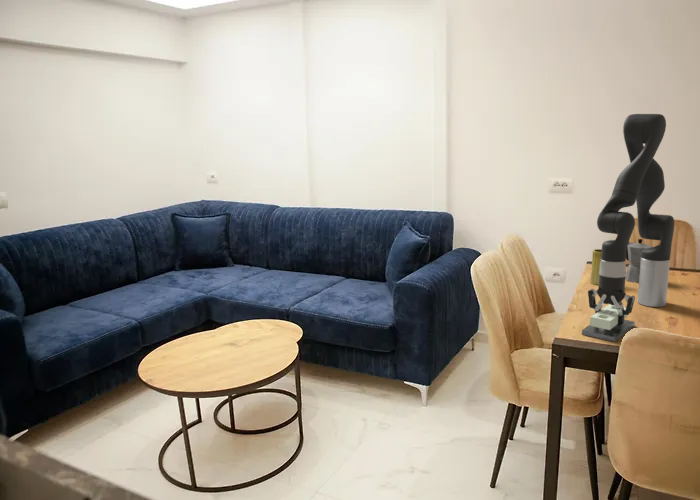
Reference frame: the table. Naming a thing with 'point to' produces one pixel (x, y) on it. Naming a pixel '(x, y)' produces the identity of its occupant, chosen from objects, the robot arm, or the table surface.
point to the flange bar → (605, 318)
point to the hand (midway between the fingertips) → (609, 323)
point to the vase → (595, 266)
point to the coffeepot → (634, 260)
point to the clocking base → (609, 334)
